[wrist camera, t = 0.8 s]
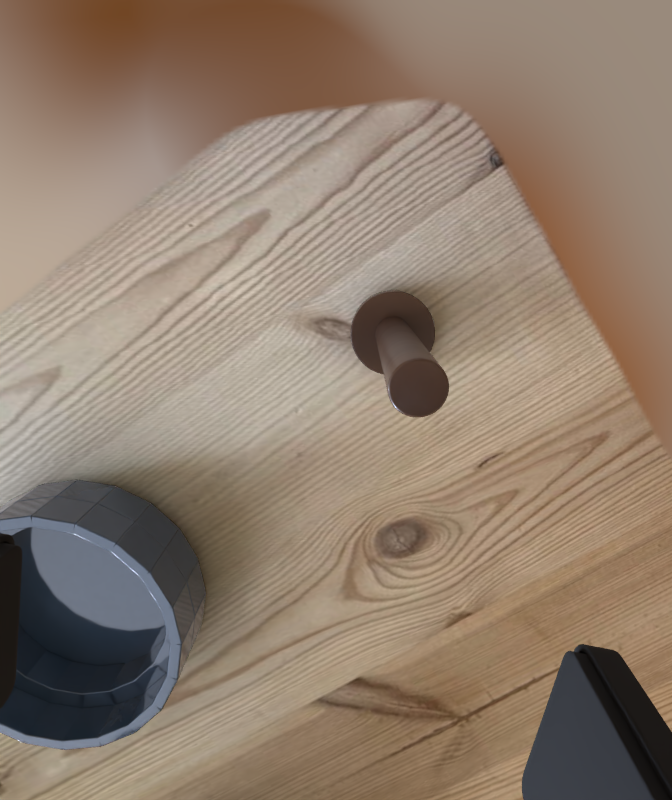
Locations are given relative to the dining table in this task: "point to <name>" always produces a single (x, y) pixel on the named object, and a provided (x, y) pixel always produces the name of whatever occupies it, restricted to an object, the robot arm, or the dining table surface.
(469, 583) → the dining table surface
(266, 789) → the dining table surface
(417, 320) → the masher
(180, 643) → the bowl
